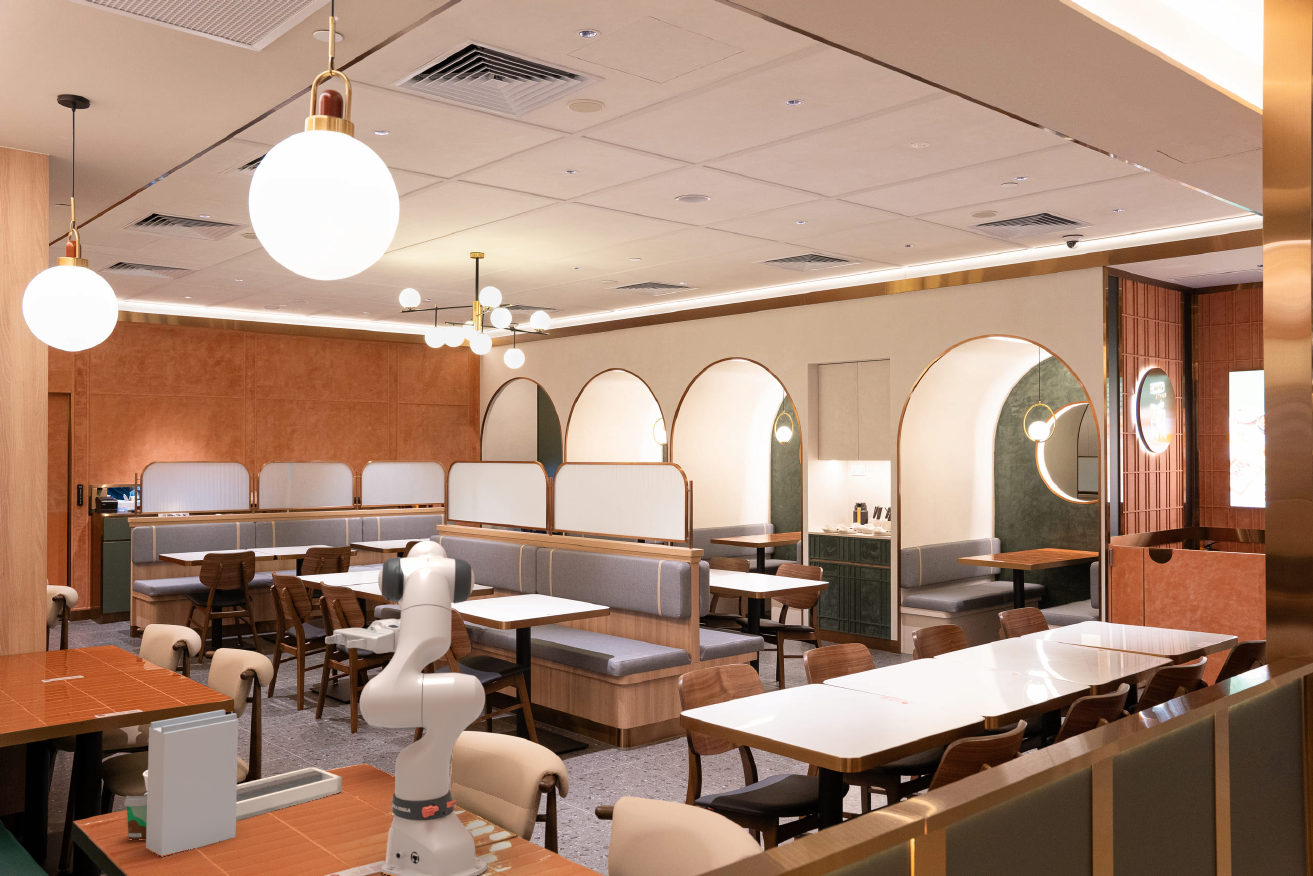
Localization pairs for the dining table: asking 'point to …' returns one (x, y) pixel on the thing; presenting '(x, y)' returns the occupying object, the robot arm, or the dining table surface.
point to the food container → (137, 816)
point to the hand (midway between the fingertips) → (336, 642)
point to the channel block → (191, 781)
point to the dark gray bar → (278, 785)
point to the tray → (287, 793)
